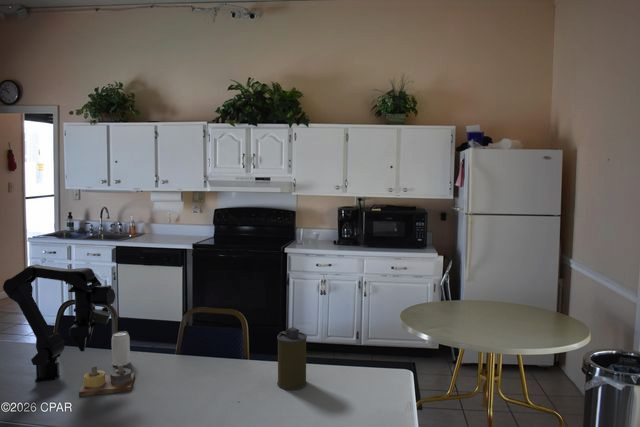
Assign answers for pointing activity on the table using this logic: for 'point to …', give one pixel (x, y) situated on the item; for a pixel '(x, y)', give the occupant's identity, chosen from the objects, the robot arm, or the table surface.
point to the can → (120, 348)
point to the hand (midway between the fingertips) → (85, 346)
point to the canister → (291, 359)
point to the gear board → (107, 387)
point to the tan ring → (94, 379)
